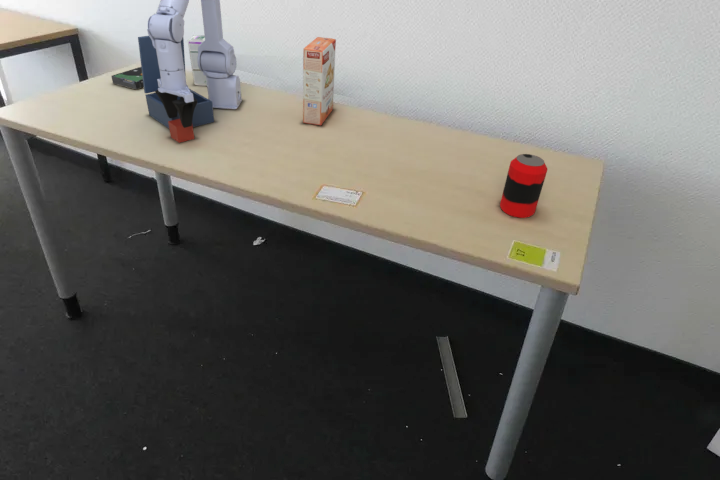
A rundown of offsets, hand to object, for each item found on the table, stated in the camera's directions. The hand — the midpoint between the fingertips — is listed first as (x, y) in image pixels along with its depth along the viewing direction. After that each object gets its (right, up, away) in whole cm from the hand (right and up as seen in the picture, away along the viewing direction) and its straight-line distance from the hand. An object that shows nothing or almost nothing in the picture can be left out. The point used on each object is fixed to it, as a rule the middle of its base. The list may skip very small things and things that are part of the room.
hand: (180, 121), depth 130 cm
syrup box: (-5, +22, +38) cm, 45 cm away
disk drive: (-25, +22, +37) cm, 50 cm away
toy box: (-4, +4, +13) cm, 14 cm away
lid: (-7, +18, +8) cm, 21 cm away
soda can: (+81, -24, -18) cm, 86 cm away
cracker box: (+34, +6, +20) cm, 40 cm away
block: (0, -4, +3) cm, 4 cm away
